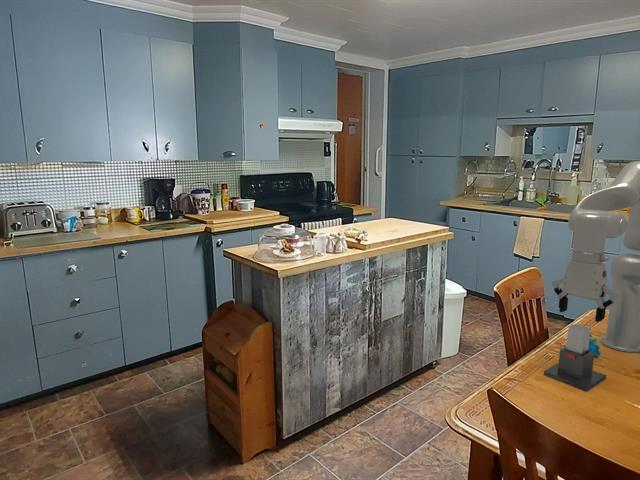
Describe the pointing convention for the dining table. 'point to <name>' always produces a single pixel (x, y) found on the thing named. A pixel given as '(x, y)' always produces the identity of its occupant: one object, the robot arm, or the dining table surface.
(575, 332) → the post
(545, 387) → the dining table surface
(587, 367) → the stand
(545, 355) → the dining table surface
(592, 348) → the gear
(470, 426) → the dining table surface
